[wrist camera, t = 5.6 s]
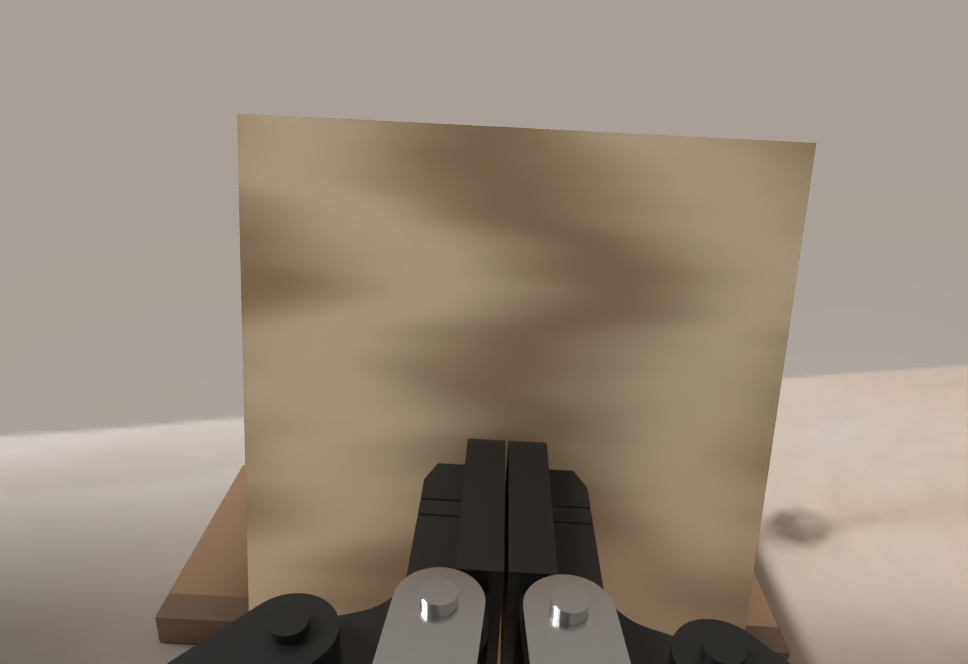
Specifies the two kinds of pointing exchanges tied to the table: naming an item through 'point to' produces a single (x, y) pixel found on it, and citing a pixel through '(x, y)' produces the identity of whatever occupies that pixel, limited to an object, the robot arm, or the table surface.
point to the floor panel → (224, 583)
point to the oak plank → (513, 342)
